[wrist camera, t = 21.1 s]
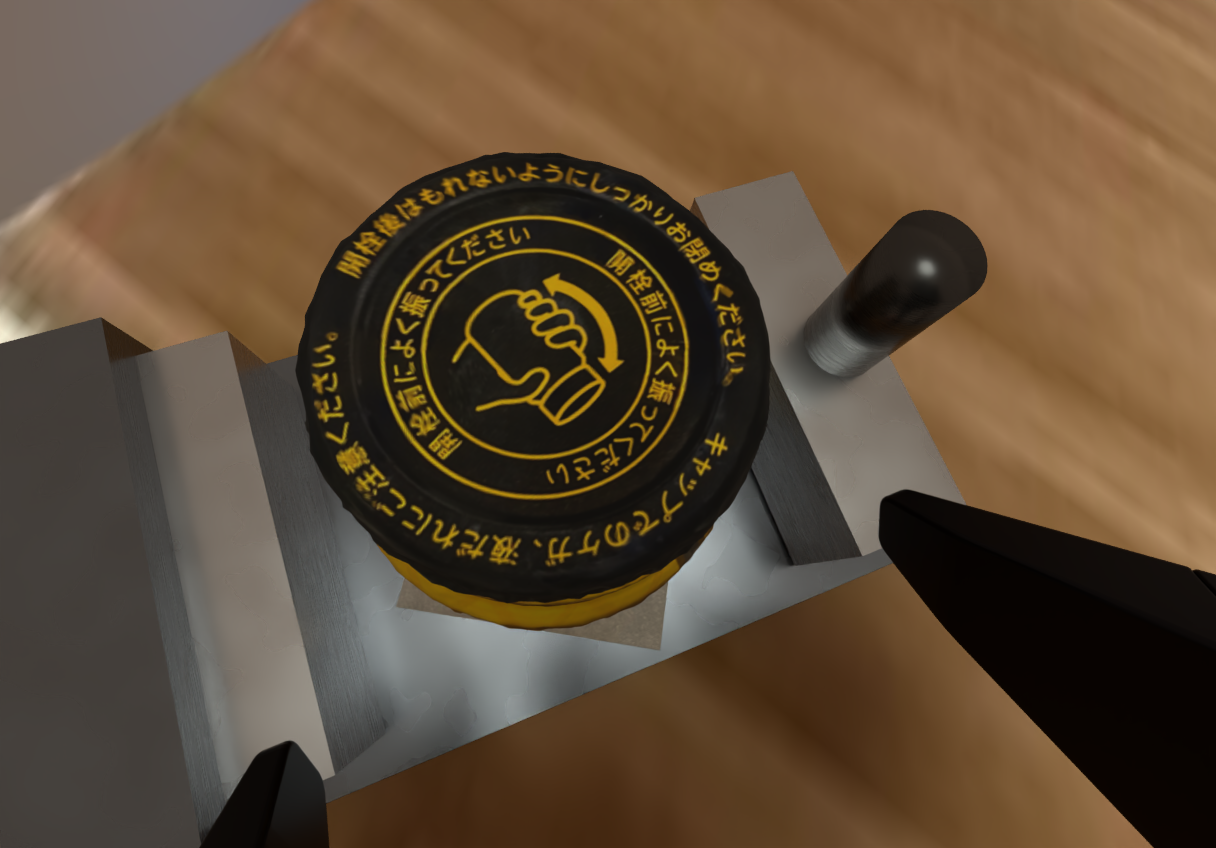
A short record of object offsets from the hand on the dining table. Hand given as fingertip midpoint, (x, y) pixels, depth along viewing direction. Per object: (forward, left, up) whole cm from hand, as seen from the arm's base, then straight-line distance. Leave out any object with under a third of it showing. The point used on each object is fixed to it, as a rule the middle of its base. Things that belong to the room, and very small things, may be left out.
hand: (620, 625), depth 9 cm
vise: (+3, -3, -10) cm, 10 cm away
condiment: (+3, -3, -9) cm, 10 cm away
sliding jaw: (-1, -9, -8) cm, 12 cm away
